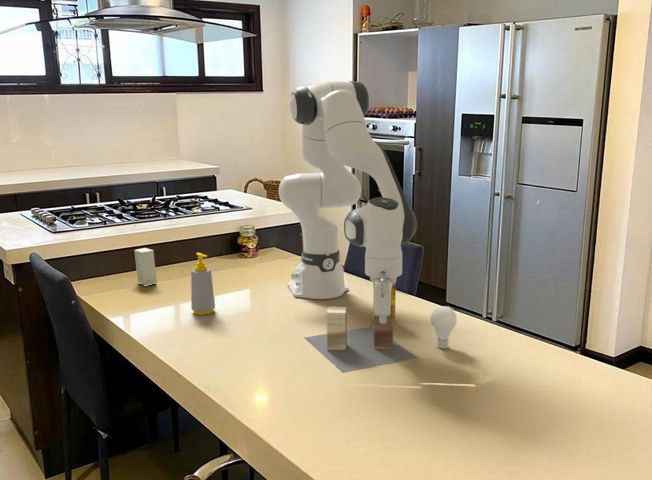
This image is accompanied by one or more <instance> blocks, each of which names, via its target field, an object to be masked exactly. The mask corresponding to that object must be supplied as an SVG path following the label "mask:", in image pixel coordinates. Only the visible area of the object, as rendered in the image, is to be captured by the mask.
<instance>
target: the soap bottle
mask: <svg viewBox="0 0 652 480" xmlns="http://www.w3.org/2000/svg"><path fill="white" fill-rule="evenodd" d="M195 255H196V256H197V260H198V262H196V265H195V267H194V268H193V269H191V271H190V272H191V273H190V276H191V277H190V279H191V281H190V286H191V288H190V289H191V290H190V291H191V294H190V295H191V300H190V301H191V310H192V311H193V313H195V314H194V315H196V314H199V315H198V316H205V315H204V314H208V315H210V313H211V314H213V312H214V309H215V308H216V305H215V296H214V294H215V293H214V286H213V285H214V284H213V276H212V269H211V268H208V266H207V265H206V264H205V261H203V260H204V258H208V255H207V254H205V253H201V252H196V254H195Z"/></svg>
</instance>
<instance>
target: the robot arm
mask: <svg viewBox="0 0 652 480" xmlns="http://www.w3.org/2000/svg"><path fill="white" fill-rule="evenodd" d="M369 105H370V96H369V91H368V89H367V87H366V86H365V84H364V83H363V82H360V81H355V80H349V81H328V82H323V83H316V84H311V85H301V86H298V87H295V88H294V90H292V92H291V94H290V99H289V110H290V113H291V115H292V118H293V120H294V121H295V122H296V123H297V124H299V125H301V128H302V130H301V131H302V132H301V138H302V139H301V143H302V144H301V145H302V147H301V148H302V154H301V155H302V158H303V160H304V161H306V163H308V164H309V165H310V166H312V167H314V168H316V169H319V171H320V172H307V173H306V172H305V173H304V172H303V173H301V172H300V173H294V174H290V175H286V176H284V177H283V178H282V179H281V180H280V183H279V186H278V197H279V199H280V201H281V203H282V204H283V205H284V206H285V207H287V208H288V209H289V210H290V211H292V212H293V214H294V215H295V216H296V217H297V219H298V220H299V223H300V226H301V231H302V241H303V250H301V251H302V252H301V257H300V258H301V259H300V261H301V262H300V263H299V264H298V265H297V266H296V267H295V268H294V270H293V271H294V272H291V274H290V275H291V276H290V277H291V280H290V281H288V282H287V286H289V287H288V288H290V289H289V290H290V292H291V294H292V295H293V297H295V298H305V299H310V300H311V299H313V300H329V299H334V298H339V297H340V296H343V295H344V293H345V292H346V291H349V287H348V285H345V275H344V273H345V272H344V266H343V265H342V264H341V263H340V260H341V259H340V257H341V254H340V253H341V252H340V250H339V228H338V226H337V224H336V223H335V222H333V221H332V220H331V219H328V218H326V217H324V216H322V215H321V214H319V212H318V210H319V209H325V208H326V209H328V208H330V209H332V208H334V209H335V208H344V207H345V208H346V207H349V206H353V205H355V204H357V202H358V201H359V199H360V197H361V195H362V184H361V182H360V180H359V178H358V177H357V176H356V174H354V173H352V172H351V171H350V170H348V168H353V169H356V170H358V171H361V172H363V173H365V174H367V175H369V176H370V177H371V178H373V180H375V182H376V184H377V187H378V189H379V191H380V194H381V197H379V196H378V197H374V198H371V199H369V200H368V201H367V203H366V205H363V206H361V207H358V208H355V209H351V210H350V211H349V212H348V214H347V215H346V216H345V219H344V222H343V233H344V237H345V239H346V240H347V241H348V242H349V243H351V244H352V246H355V247H359V248H362V247H364V248H365V252H364V253H365V254H364V274H365V275H366V276H367V277H369V278H370V279H369V281H371V282H372V283H373V284H374V283H375V291H374V290H373V303H374V313H375V316H379V322H380V323H381V324H385V323H386V322H387V316H390V309H391V289H392V283H394V282H397V278H398V277H400V276H402V275H403V250H402V246H401V245H406V244H407V243H408V242H410V241H411V240H412V238H413V237H414V235H415V234H416V231H417V230H418V221H417V217H416V214H415V213H414V212H413V209H412V207H411V206H410V205H409V203H408V200H407V199H406V196H405V194H404V192H403V189H402V187H401V184H400V182H399V180H398V177H397V175H396V174H397V173H396V172H395V170H394V168H393V165H392V163H391V161H390V157H388V155H387V153H386V151H385V150H384V148H382V147H380V146H379V145H378V144H377V143H376V142H375V141H374V139H373V138H372V136H371V134H370V132H369V130H368V128H367V127H368V126H367V123H366V120H365V116H366V114H367V113H368V111H369V108H370V107H369ZM347 167H348V168H347Z"/></svg>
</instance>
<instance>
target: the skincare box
mask: <svg viewBox="0 0 652 480" xmlns="http://www.w3.org/2000/svg"><path fill="white" fill-rule="evenodd" d="M154 252H155V251H154V249H150V248H147V247H144V248H143V247H142V248H138V249H134V256H135V257H134V258H135V259H134V260H135V266H136V267H135V269H136V278H137V283H138V282H140V283H142V284H144V285H148V284H153V283H157V271H156V263H155V261H156V260H155V253H154ZM157 284H158V283H157Z"/></svg>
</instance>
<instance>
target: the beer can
mask: <svg viewBox="0 0 652 480" xmlns="http://www.w3.org/2000/svg"><path fill="white" fill-rule="evenodd" d="M396 282H397V281H396ZM396 282H394V283H392V289H391V305H393V323H395V321H396V299H397V298H396V295H397V294H396V293H397V292H396V291H397V287H396V286H397V285H396ZM374 291H375V283H374V282H373V292H374ZM372 304H373V307H372V308H373V313H372V314H373V315H372V316H373V317H372V319H373V321H374V302H373V303H372Z"/></svg>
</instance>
